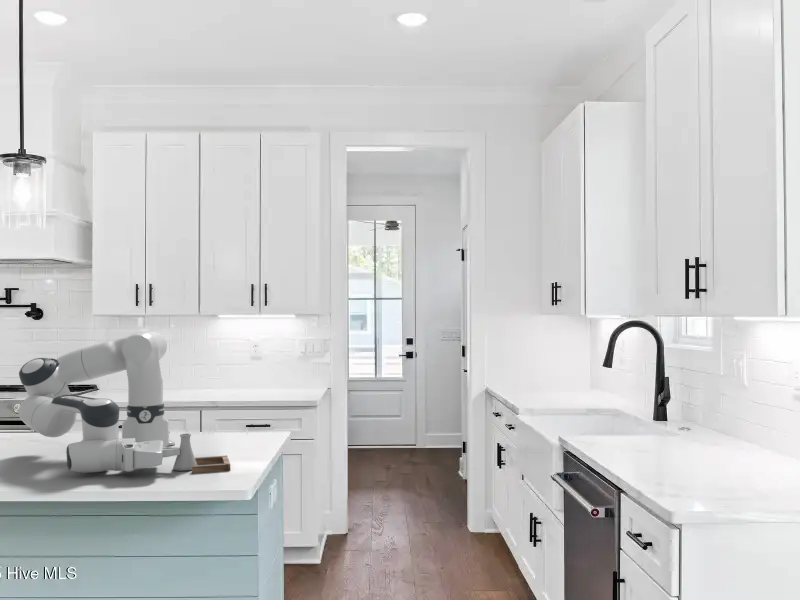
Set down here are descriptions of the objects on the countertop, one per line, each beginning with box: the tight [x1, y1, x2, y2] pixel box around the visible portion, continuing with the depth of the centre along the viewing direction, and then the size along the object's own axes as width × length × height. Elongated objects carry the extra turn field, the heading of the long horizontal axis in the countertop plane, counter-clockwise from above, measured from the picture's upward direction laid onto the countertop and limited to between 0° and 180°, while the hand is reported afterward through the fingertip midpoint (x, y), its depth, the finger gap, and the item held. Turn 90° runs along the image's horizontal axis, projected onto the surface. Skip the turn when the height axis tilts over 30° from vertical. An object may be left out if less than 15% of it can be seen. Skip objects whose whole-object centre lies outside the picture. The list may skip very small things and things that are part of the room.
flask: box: [172, 432, 198, 472], centre depth 205 cm, size 7×7×10 cm
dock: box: [191, 455, 231, 474], centre depth 207 cm, size 13×10×2 cm
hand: (179, 451), depth 204 cm, fingers closed
